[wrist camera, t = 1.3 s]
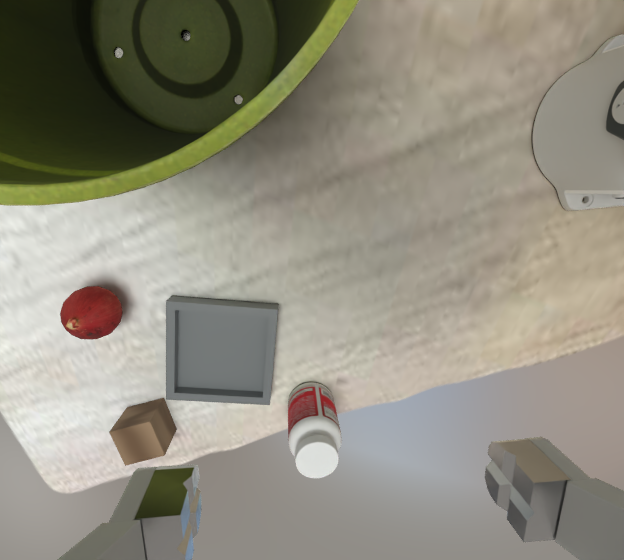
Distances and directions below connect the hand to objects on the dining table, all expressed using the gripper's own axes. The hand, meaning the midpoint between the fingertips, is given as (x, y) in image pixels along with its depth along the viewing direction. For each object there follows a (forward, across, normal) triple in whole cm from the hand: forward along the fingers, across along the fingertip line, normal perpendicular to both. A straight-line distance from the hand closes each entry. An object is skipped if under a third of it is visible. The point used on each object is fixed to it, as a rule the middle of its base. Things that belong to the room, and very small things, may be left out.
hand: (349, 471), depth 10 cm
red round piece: (+36, +22, +6) cm, 43 cm away
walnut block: (+36, +19, +22) cm, 46 cm away
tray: (+35, +9, +12) cm, 38 cm away
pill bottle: (+35, -2, +20) cm, 41 cm away
